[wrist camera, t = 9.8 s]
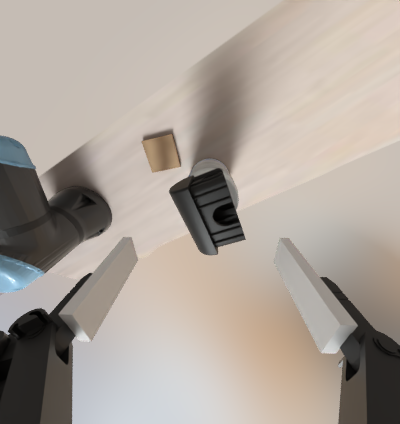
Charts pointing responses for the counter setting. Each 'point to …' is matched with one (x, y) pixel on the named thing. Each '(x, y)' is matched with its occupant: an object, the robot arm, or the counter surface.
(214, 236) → the end cap
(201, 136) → the counter surface
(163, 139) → the oak coaster
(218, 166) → the supplement tub
